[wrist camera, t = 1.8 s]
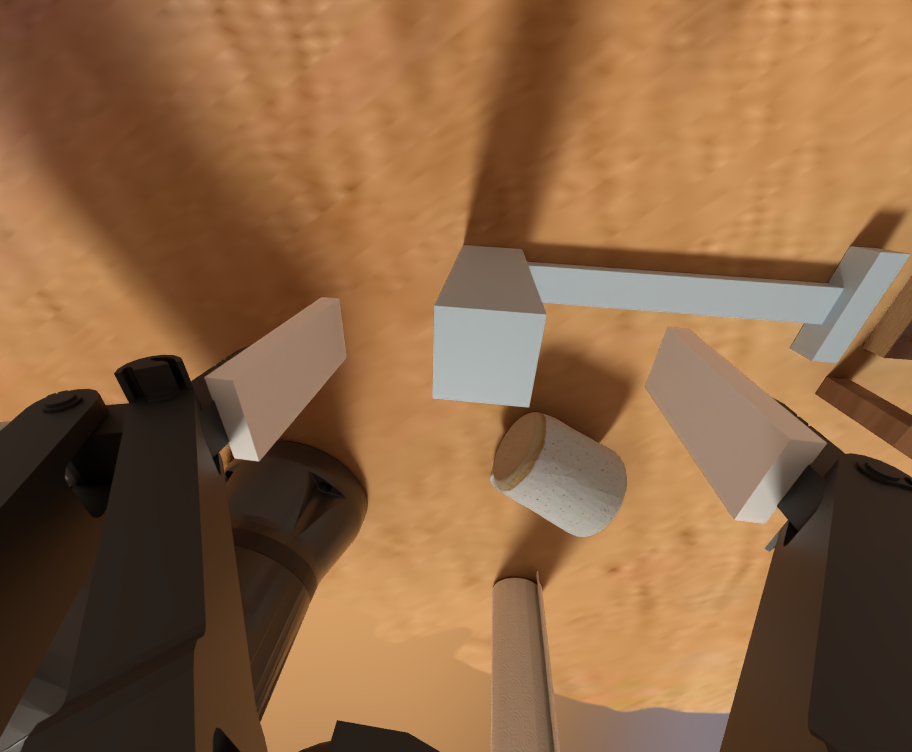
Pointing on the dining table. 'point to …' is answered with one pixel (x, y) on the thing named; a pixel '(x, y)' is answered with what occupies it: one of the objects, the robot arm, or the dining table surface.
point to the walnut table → (870, 412)
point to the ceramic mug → (560, 474)
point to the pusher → (532, 283)
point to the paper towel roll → (521, 671)
